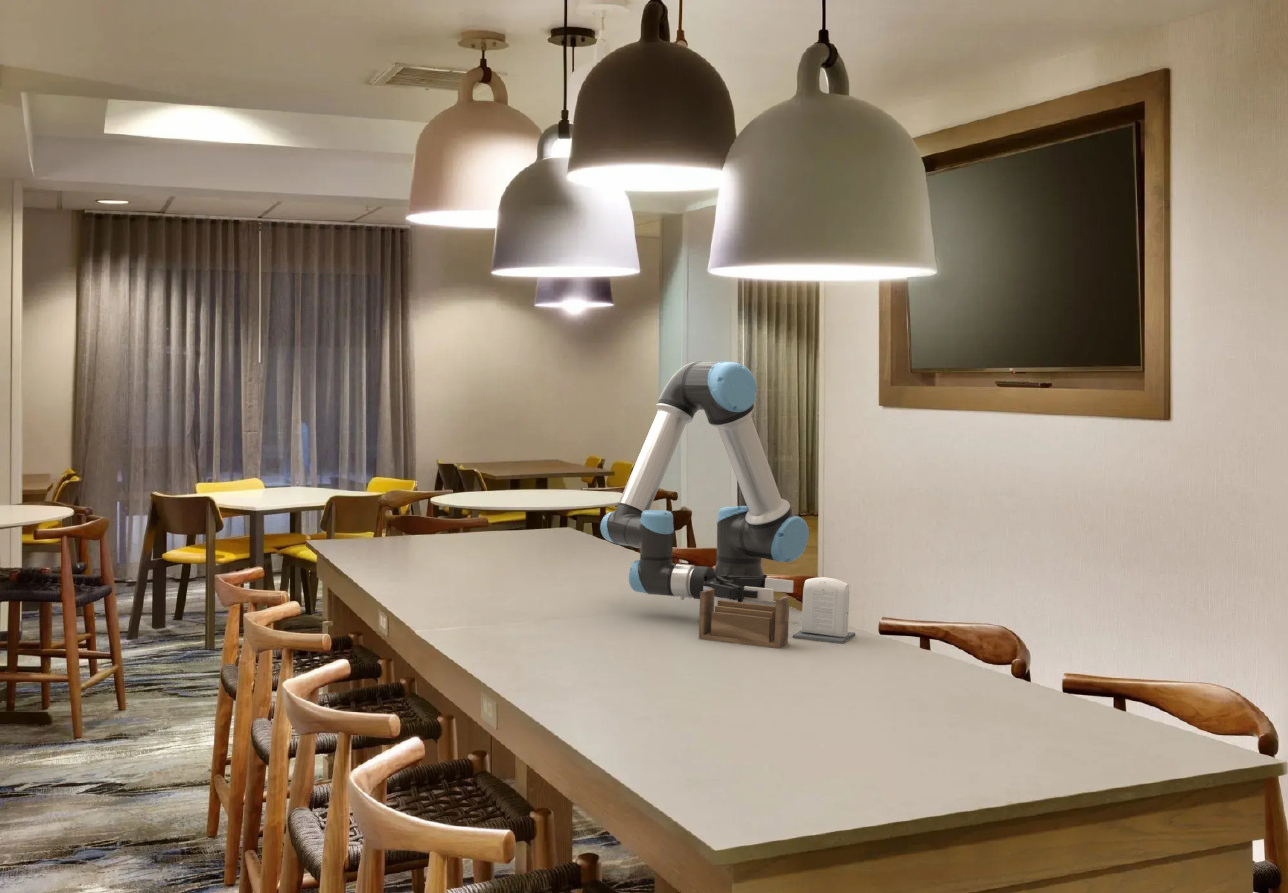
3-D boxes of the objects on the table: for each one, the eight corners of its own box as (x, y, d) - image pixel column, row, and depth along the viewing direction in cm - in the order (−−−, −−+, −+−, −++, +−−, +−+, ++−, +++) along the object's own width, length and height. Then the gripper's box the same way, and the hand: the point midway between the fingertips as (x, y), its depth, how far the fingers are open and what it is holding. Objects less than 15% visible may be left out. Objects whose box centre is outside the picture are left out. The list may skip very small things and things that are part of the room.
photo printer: (850, 635, 260) (852, 578, 260) (844, 638, 256) (846, 581, 256) (804, 629, 265) (806, 574, 264) (798, 633, 261) (800, 576, 260)
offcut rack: (708, 633, 261) (710, 588, 260) (787, 643, 253) (789, 596, 252) (698, 638, 255) (700, 591, 255) (779, 648, 248) (780, 600, 247)
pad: (807, 629, 268) (807, 627, 268) (855, 635, 263) (855, 632, 263) (792, 637, 259) (792, 635, 259) (842, 643, 254) (842, 640, 254)
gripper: (714, 590, 285) (799, 599, 276) (671, 606, 263) (763, 617, 254) (715, 559, 285) (801, 567, 276) (672, 572, 262) (764, 581, 253)
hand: (783, 591), depth 265 cm, fingers open, 13 cm apart
